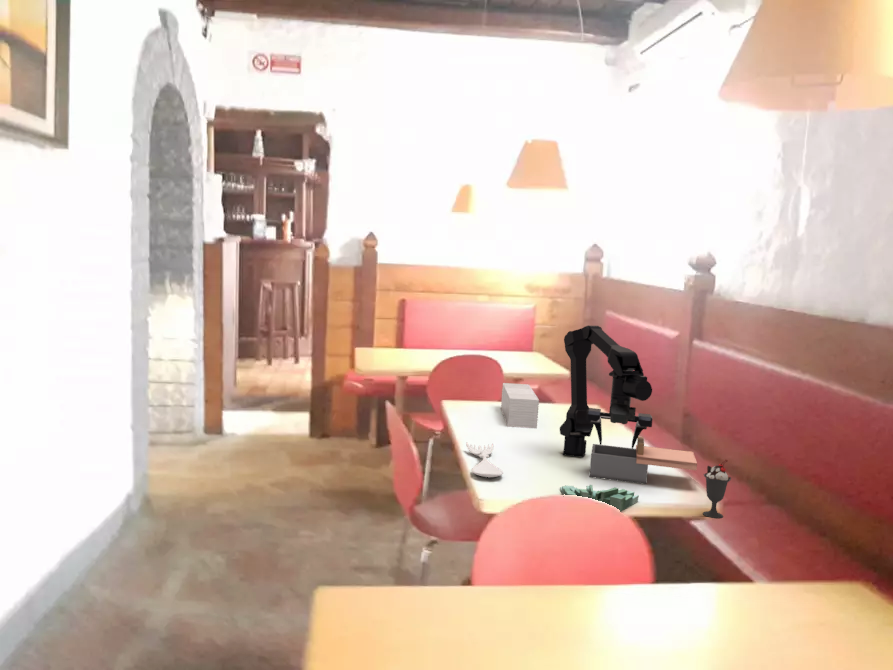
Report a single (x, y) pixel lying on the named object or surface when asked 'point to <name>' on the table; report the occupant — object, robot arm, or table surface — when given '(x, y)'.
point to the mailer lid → (664, 457)
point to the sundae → (716, 487)
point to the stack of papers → (519, 405)
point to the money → (604, 495)
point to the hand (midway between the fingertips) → (616, 446)
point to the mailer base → (617, 464)
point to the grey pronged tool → (484, 462)
